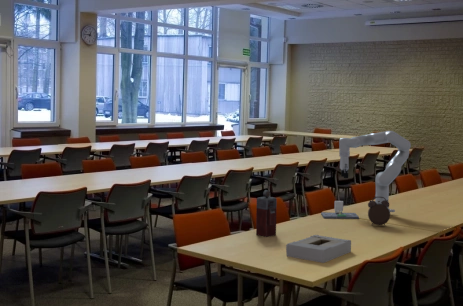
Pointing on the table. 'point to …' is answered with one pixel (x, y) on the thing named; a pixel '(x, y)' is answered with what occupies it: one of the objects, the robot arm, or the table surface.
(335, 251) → the box
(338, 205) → the peg
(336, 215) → the plate
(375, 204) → the alarm clock
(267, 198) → the maroon square bottle
